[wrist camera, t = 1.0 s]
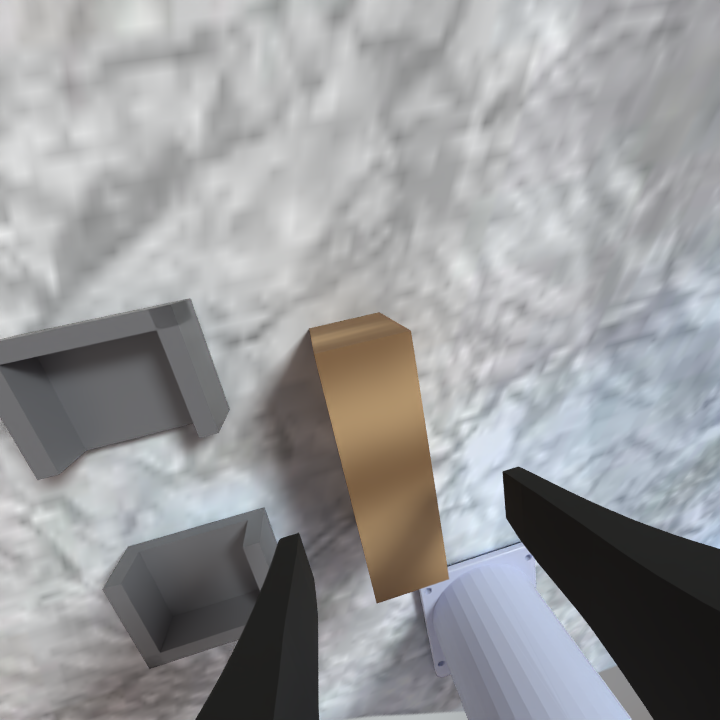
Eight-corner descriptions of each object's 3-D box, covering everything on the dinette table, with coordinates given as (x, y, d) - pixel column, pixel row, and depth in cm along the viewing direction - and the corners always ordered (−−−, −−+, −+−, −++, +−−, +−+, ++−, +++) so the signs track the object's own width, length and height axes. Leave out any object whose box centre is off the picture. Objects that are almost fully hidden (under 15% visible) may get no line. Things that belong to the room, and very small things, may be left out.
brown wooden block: (413, 505, 20) (449, 579, 15) (357, 522, 20) (376, 603, 15) (378, 311, 17) (410, 330, 12) (309, 327, 16) (313, 354, 11)
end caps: (290, 581, 20) (289, 622, 17) (167, 620, 19) (149, 668, 17) (190, 298, 15) (170, 304, 12) (15, 335, 14) (-40, 349, 12)
